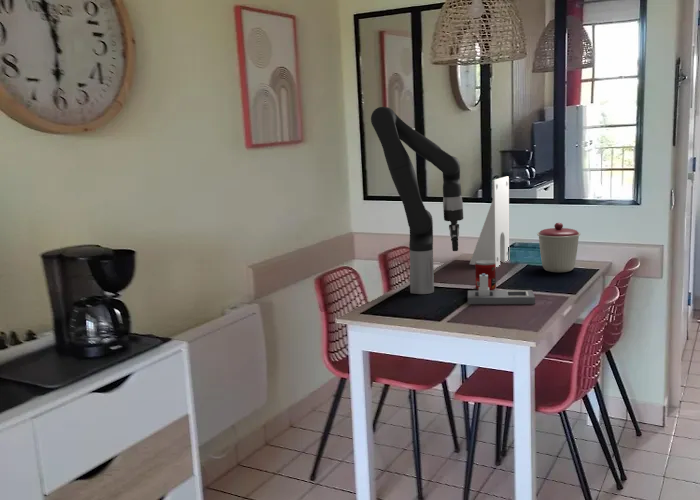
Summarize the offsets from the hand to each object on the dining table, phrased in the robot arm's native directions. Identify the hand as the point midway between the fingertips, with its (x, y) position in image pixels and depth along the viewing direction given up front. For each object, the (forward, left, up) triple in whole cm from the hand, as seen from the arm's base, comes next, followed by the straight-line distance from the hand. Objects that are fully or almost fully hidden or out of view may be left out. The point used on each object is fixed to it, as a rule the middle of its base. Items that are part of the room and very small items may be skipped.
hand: (455, 248), depth 271 cm
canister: (+44, +38, -18) cm, 60 cm away
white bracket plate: (+14, +56, -18) cm, 60 cm away
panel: (+17, -14, -17) cm, 28 cm away
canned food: (+12, +5, -18) cm, 22 cm away
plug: (+11, -14, -17) cm, 25 cm away
